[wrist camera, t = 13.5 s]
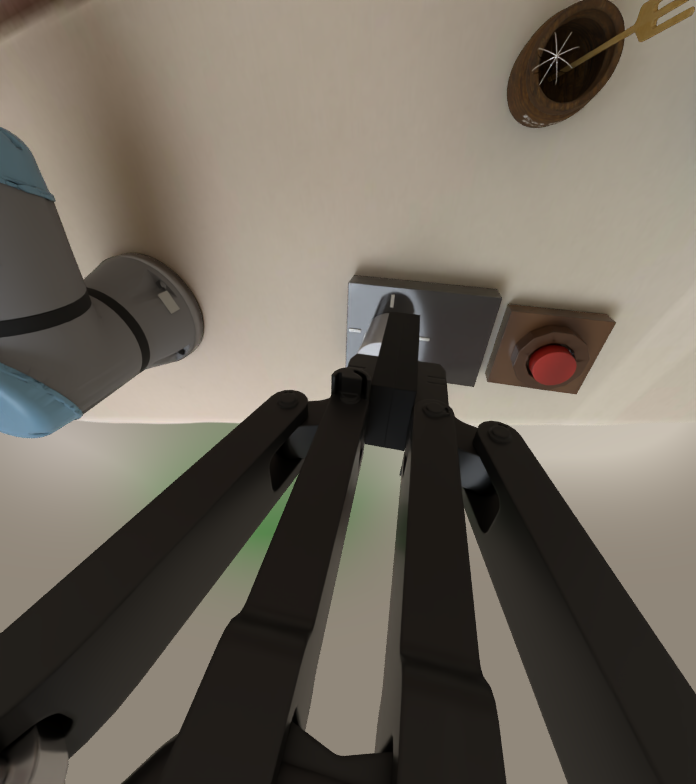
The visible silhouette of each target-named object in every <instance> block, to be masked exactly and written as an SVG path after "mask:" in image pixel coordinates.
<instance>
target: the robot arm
mask: <svg viewBox="0 0 696 784" xmlns="http://www.w3.org/2000/svg"><path fill="white" fill-rule="evenodd" d="M54 202H55V198H54V196H53V195H52V194H51V193H50V192H49V190H48V188H47V186H46V183H45V181H44V179H43V177H42V175H41V172H40V170H39V168H38V165H37V163H36V161H35V159H34V156H33V154H32V153H31V151H30V150H29V148H28V147H27V146H26V145H25V143H24V142H23V141H22V140H20V139H19V138H18V137H17V136H15V135H14V134H13V133H11V132H10V131H8V130H6V129H4V128H2V127H0V432H2V433H5V434H8V435H12V436H16V437H22V438H40V437H44V436H47V435H50V434H52V433H53V432H55V431H57V430H58V429H60V428H62V427H63V426H65V425H66V424H68V423H70V422H71V421H73V420H77V419H79V418H81V416H83V414H84V413H86V412H87V411H88V410H90V409H91V408H93V407H94V406H95V405H97V404H98V403H99V402H101V401H102V400H104V399H105V398H106V397H108V396H109V395H110V394H112V393H113V392H114V391H116V390H117V389H119V388H120V387H121V386H123V385H124V384H125V383H127V382H128V381H130V380H131V379H132V378H134V377H135V376H136V375H138V374H139V373H141V372H142V371H144V370H145V369H148V368H152V367H156V366H160V365H164V364H167V363H171V362H175V361H179V360H182V359H183V358H185V357H186V356H188V355H189V354H190V353H192V352H193V351H194V350H195V349H196V348H197V347H198V346H199V344H200V342H201V339H202V336H203V319H202V315H201V311H200V308H199V306H198V304H197V301H196V299H195V298H194V296H193V294H192V293H191V291H190V290H189V288H188V287H187V285H186V284H185V283H184V282H183V281H182V280H181V278H180V277H179V276H178V275H177V274H175V273H174V272H173V271H172V270H171V269H170V268H168V267H167V266H165V265H164V264H162V263H161V262H159V261H157V260H155V259H153V258H151V257H148V256H146V255H142V254H136V253H126V254H122V255H118V256H115V257H111V258H108V259H106V260H104V261H103V262H102V263H101V264H100V265H99V266H98V267H97V268H96V269H95V270H94V271H92V272H91V273H90V274H89V275H88V276H87V277H86V278H85V279H84V280H83V278H82V275H81V273H80V270H79V267H78V265H77V262H76V260H75V257H74V255H73V252H72V250H71V247H70V244H69V242H68V239H67V236H66V233H65V231H64V228H63V225H62V223H61V220H60V217H59V215H58V212H57V209H56V206H55V204H54ZM419 335H420V315H416V314H408V313H400V312H391V311H390V312H389V316H388V320H387V324H386V328H385V332H384V336H383V339H382V343H381V347H380V351H379V355H378V356H373V355H366V354H358V353H357V354H356V355H355V356H353V357H352V358H350V361H349V363H348V366H347V367H346V368H341V369H338V370H336V371H335V372H334V373H333V374H332V386H331V397H330V398H328V399H325V400H320V401H308V398H307V397H306V396H305V394H303V393H301V392H299V391H294V390H284V391H281V392H277V393H276V394H274V395H273V396H271V397H270V398H269V399H268V400H267V401H266V402H264V403H263V404H262V405H261V406H260V407H259V408H258V409H256V410H255V411H254V412H253V413H252V414H251V415H250V416H248V417H247V418H246V419H245V420H244V421H243V422H242V423H240V424H239V425H238V426H237V427H236V428H235V429H234V430H233V431H231V432H230V433H229V434H228V435H227V436H226V437H224V438H223V439H222V440H221V441H220V442H219V443H218V444H216V445H215V446H214V447H213V448H212V449H211V450H210V451H209V452H207V453H206V454H205V455H204V456H203V457H202V458H200V459H199V460H198V461H197V462H196V463H195V464H194V465H192V466H191V467H190V468H189V469H188V470H187V471H186V472H184V473H183V474H182V475H181V476H180V477H179V478H178V479H177V480H175V481H174V482H173V483H172V484H171V485H170V486H169V487H167V488H166V489H165V490H164V491H163V492H162V493H161V494H159V495H158V496H157V497H156V498H155V499H154V500H153V501H152V502H150V503H149V504H148V505H147V506H146V507H145V508H143V509H142V510H141V511H140V512H139V513H138V514H137V515H135V516H134V517H133V518H132V519H131V520H130V521H129V522H128V523H126V524H125V525H124V526H123V527H122V528H121V529H120V530H118V531H117V532H116V533H115V534H114V535H113V536H111V537H110V538H109V539H108V540H107V541H106V542H105V543H103V544H102V545H101V546H100V547H99V548H98V549H97V550H95V551H94V552H93V553H92V554H91V555H90V556H89V557H88V558H86V559H85V560H84V561H83V562H82V563H81V564H80V565H79V566H77V567H76V568H75V569H74V570H73V571H72V572H70V573H69V574H68V575H67V576H66V577H65V578H64V579H62V580H61V581H60V582H59V583H58V584H57V585H56V586H54V587H53V588H52V589H51V590H50V591H49V592H48V593H47V594H45V595H44V596H43V597H42V598H41V599H40V600H38V601H37V602H36V603H35V604H34V605H33V606H32V607H31V608H29V609H28V610H27V611H26V612H25V613H24V614H22V615H21V616H20V617H19V618H18V619H17V620H16V621H14V622H13V623H12V624H11V625H10V626H9V627H8V628H7V629H5V630H4V631H3V632H2V633H0V784H65V778H66V773H67V769H68V759H69V758H70V757H72V756H73V754H75V753H76V752H77V751H78V750H79V749H80V748H81V747H82V746H83V745H84V744H85V743H87V742H88V740H89V739H90V738H91V737H92V736H93V735H94V734H95V733H96V732H97V731H98V730H99V729H100V727H102V726H103V724H104V723H105V722H106V721H107V720H108V719H109V718H110V717H111V716H112V715H113V714H114V713H115V712H116V711H117V709H118V708H119V707H120V706H121V704H122V703H123V702H124V701H125V700H126V698H127V697H128V696H129V694H131V692H132V691H133V690H134V688H135V687H136V686H137V685H138V684H139V682H140V681H141V680H142V679H143V677H144V676H145V675H146V673H147V672H148V671H149V669H150V668H151V667H152V665H153V664H154V663H155V662H156V660H157V659H158V658H159V656H160V655H161V654H162V652H163V651H164V650H165V648H166V647H167V646H168V644H169V643H170V642H171V640H172V639H173V638H174V636H175V635H176V634H177V633H178V631H179V630H180V629H181V627H182V626H183V625H184V623H185V622H186V621H187V619H188V618H189V617H190V616H191V614H192V613H193V611H194V610H195V609H196V607H197V606H198V605H199V604H200V602H201V601H202V600H203V598H204V597H205V596H206V595H207V593H208V592H209V591H210V589H211V588H212V586H213V585H214V584H215V583H216V581H217V580H218V579H219V577H220V576H221V575H222V574H223V572H224V571H225V570H226V568H227V567H228V566H229V564H230V563H231V562H232V560H233V559H234V558H235V556H236V555H237V554H238V553H239V551H240V550H241V548H242V547H243V546H244V545H245V543H246V542H247V541H248V539H249V538H250V537H251V535H252V534H253V533H254V532H255V530H256V529H257V527H258V526H259V525H260V524H261V522H262V521H263V520H264V518H265V517H266V516H267V514H268V513H269V512H270V510H271V509H272V508H273V506H274V505H275V504H276V503H277V501H278V500H279V499H280V497H281V496H282V495H283V493H284V492H285V491H286V489H287V488H288V487H289V486H290V484H291V483H292V482H293V480H294V479H295V478H296V476H297V475H298V474H299V475H298V477H297V480H296V482H295V484H294V487H293V489H292V492H291V494H290V497H289V499H288V502H287V504H286V507H285V509H284V511H283V514H282V516H281V519H280V521H279V523H278V526H277V528H276V531H275V533H274V536H273V538H272V540H271V543H270V545H269V548H268V550H267V553H266V555H265V558H264V560H263V562H262V565H261V567H260V570H259V572H258V575H257V577H256V579H255V582H254V585H253V587H252V589H251V592H250V594H249V596H248V599H247V601H246V603H245V605H244V607H243V609H242V611H241V612H240V613H239V614H238V615H236V616H235V617H234V618H232V619H231V621H230V622H229V624H228V626H227V627H226V628H225V630H224V632H223V634H222V636H221V638H220V640H219V642H218V645H217V647H216V649H215V651H214V654H213V656H212V659H211V661H210V663H209V665H208V667H207V670H206V672H205V674H204V677H203V679H202V681H201V684H200V686H199V688H198V690H197V693H196V695H195V698H194V700H193V702H192V704H191V707H190V709H189V711H188V714H187V716H186V718H185V720H184V723H183V725H182V727H181V730H180V732H179V733H178V734H177V735H175V736H174V737H173V738H171V739H170V740H169V741H167V742H166V743H165V744H164V745H163V746H161V747H160V748H159V749H158V750H157V751H156V752H155V753H154V754H152V755H151V756H150V757H149V758H148V759H147V760H146V761H145V762H144V763H143V764H142V765H141V766H140V767H139V768H137V769H136V770H135V771H134V772H133V773H132V774H131V775H130V776H129V777H128V778H127V779H126V780H125V781H124V782H123V783H121V784H506V776H505V768H504V760H503V753H502V744H501V736H500V728H499V720H498V715H497V709H496V703H495V699H494V696H493V693H492V690H491V687H490V686H489V684H488V683H487V681H486V680H485V678H484V677H483V674H482V671H481V667H480V660H479V650H478V641H477V631H476V621H475V611H474V601H473V592H472V582H471V572H470V562H469V553H468V543H467V534H466V523H465V514H464V508H465V511H466V513H467V516H468V519H469V522H470V524H471V527H472V529H473V532H474V535H475V538H476V540H477V543H478V545H479V548H480V551H481V554H482V556H483V559H484V561H485V564H486V567H487V569H488V572H489V575H490V577H491V580H492V583H493V585H494V588H495V591H496V593H497V596H498V599H499V601H500V604H501V607H502V609H503V612H504V614H505V617H506V620H507V623H508V625H509V628H510V631H511V633H512V636H513V639H514V641H515V644H516V647H517V649H518V652H519V654H520V657H521V660H522V663H523V665H524V668H525V670H526V673H527V676H528V678H529V681H530V684H531V686H532V689H533V692H534V694H535V697H536V699H537V702H538V705H539V708H540V710H541V713H542V716H543V718H544V721H545V723H546V726H547V729H548V731H549V734H550V737H551V740H552V742H553V745H554V748H555V750H556V753H557V755H558V758H559V761H560V763H561V766H562V769H563V772H564V774H565V777H566V779H567V782H568V784H696V694H695V692H694V691H693V689H692V688H691V686H690V685H689V683H688V682H687V680H686V679H685V677H684V676H683V675H682V673H681V672H680V670H679V669H678V668H677V666H676V664H675V663H674V661H673V660H672V658H671V657H670V655H669V654H668V652H667V651H666V649H665V648H664V646H663V645H662V644H661V642H660V641H659V639H658V638H657V636H656V635H655V633H654V632H653V630H652V629H651V627H650V626H649V624H648V623H647V621H646V620H645V618H644V617H643V615H642V614H641V612H640V611H639V610H638V608H637V607H636V605H635V604H634V602H633V601H632V599H631V598H630V596H629V595H628V593H627V592H626V590H625V589H624V587H623V586H622V584H621V583H620V582H619V580H618V579H617V577H616V576H615V574H614V573H613V571H612V570H611V568H610V567H609V565H608V564H607V562H606V561H605V559H604V558H603V556H602V555H601V554H600V552H599V550H598V549H597V548H596V546H595V545H594V543H593V542H592V540H591V539H590V537H589V536H588V534H587V533H586V531H585V530H584V528H583V527H582V525H581V524H580V523H579V521H578V519H577V518H576V517H575V515H574V514H573V512H572V511H571V509H570V508H569V506H568V505H567V503H566V502H565V500H564V499H563V497H562V496H561V494H560V493H559V491H558V490H557V489H556V487H555V486H554V484H553V483H552V481H551V480H550V478H549V477H548V475H547V474H546V472H545V471H544V469H543V468H542V466H541V465H540V463H539V462H538V460H537V459H536V457H535V456H534V454H533V453H532V452H531V450H530V449H529V448H528V446H527V444H526V443H525V441H524V440H523V438H522V437H521V435H520V434H519V433H518V432H517V431H516V430H515V429H513V428H512V427H510V426H508V425H506V424H503V423H501V422H496V421H487V422H483V423H481V424H480V425H479V426H478V428H476V427H474V426H471V425H468V424H466V423H464V422H462V421H460V420H458V419H457V418H456V417H455V416H454V412H453V410H452V408H451V407H450V406H449V403H448V392H447V380H446V371H445V370H444V368H443V367H442V366H441V365H440V364H436V363H429V362H422V361H418V357H419ZM364 443H365V444H368V445H374V446H379V447H385V448H391V449H397V450H402V451H404V450H405V452H404V457H403V462H402V467H401V471H400V476H401V485H400V496H399V508H398V520H397V531H396V542H395V554H394V565H393V576H392V577H393V578H392V588H391V599H390V611H389V622H388V634H387V645H386V656H385V668H384V679H383V690H382V698H381V704H380V710H379V717H378V725H377V735H376V746H375V753H373V754H361V755H351V756H339V755H336V754H334V753H333V752H331V751H330V750H329V749H327V748H326V747H325V746H324V745H322V744H321V743H320V742H318V741H317V740H316V739H314V738H313V737H312V736H310V735H309V734H308V733H306V732H305V728H306V724H307V719H308V714H309V709H310V704H311V699H312V693H313V686H314V680H315V674H316V669H317V664H318V659H319V655H320V650H321V646H322V641H323V636H324V632H325V627H326V622H327V618H328V614H329V609H330V604H331V600H332V595H333V590H334V586H335V581H336V577H337V572H338V568H339V562H340V558H341V554H342V549H343V545H344V540H345V535H346V531H347V526H348V522H349V517H350V512H351V508H352V503H353V499H354V494H355V489H356V485H357V480H358V476H359V471H360V466H361V462H362V457H363V450H364Z"/></svg>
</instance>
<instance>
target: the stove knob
mask: <svg viewBox="0 0 696 784" xmlns="http://www.w3.org/2000/svg"><path fill="white" fill-rule="evenodd" d="M388 316H389V313H385V314H381V315H378V316H376V317H375V318H374V319H372V320H371V322H370V323H369V325H368V327H367V330H366V332H365V334H364V337H363V339H362V342H361V344H360V346H359V349H358V351H357V353H358V354H366V355H373V356H378V355H379V351H380V347H381V343H382V339H383V336H384V332H385V328H386V324H387V320H388Z"/></svg>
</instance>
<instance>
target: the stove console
mask: <svg viewBox="0 0 696 784" xmlns="http://www.w3.org/2000/svg"><path fill="white" fill-rule="evenodd" d="M501 300H502V297H501V295H500V293H499V291H498V289H491V288H481V287H470V286H460V285H450V284H440V283H429V282H419V281H409V280H399V279H388V278H378V277H368V276H358V275H354V276H353V277H352V279H351V280H350V281H349V283H348V313H347V342H346V367H347V366H348V363H349V361H350V358H352V357H353V356H355V355H356V354H357V351H358V349H359V346H360V344H361V342H362V339H363V337H364V334H365V332H366V330H367V327H368V325H369V323H370V322H371V320H372V319H374V318H375V317H376V316H378V315H381V314H385V313H389V312H390V311H391V312H400V313H408V314H416V315H420V335H419V357H418V361H422V362H429V363H436V364H440V365H441V366H442V367H443V368H444V370H445V371H446V380H447V383H450V384H457V385H464V386H471V387H474V385H475V382H476V379H477V376H478V373H479V369H480V366H481V363H482V360H483V357H484V354H485V351H486V347H487V344H488V341H489V338H490V335H491V332H492V328H493V325H494V322H495V319H496V316H497V313H498V310H499V306H500V303H501Z"/></svg>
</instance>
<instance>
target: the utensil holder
mask: <svg viewBox="0 0 696 784" xmlns="http://www.w3.org/2000/svg"><path fill="white" fill-rule="evenodd" d="M661 1H662V0H649V1H648V2H646V3H645V4H643V6H642V7H641V9H640V12H639V15H638V18H637V21H636V23H635V24H634V25H633V26H632V27H630V28H628V29H627V30H625V27H624V21H623V18H622V15H621V13H620V11H619V9H618V8H617V7H616V6H615V5H614V4H613V3H611V2H610V1H608V0H583V1H580V2H577V3H575V4H573V5H571V6H569V7H568V8H566V9H563V10H562V11H560V12H558V13H556V14H555V15H554V16H552V17H551V18H550V19H548V20H547V21H546V22H545V23H544V24H543V25H542V26H541V27H540V28H539V29H538V30H537V31H536V33H535V34H534V35H533V36H532V37H531V39H530V40H529V41H528V43H527V44H526V45H525V47H524V48H523V50H522V51H521V53H520V54H519V56H518V58H517V60H516V62H515V64H514V66H513V68H512V71H511V74H510V77H509V81H508V87H507V101H508V106H509V109H510V112H511V114H512V115H513V117H514V118H515V119H516V120H517V121H518V122H519V123H520V124H522V125H524V126H527V127H531V128H540V127H546V126H549V125H552V124H555V123H558V122H561V121H563V120H565V119H567V118H569V117H571V116H572V115H574V114H575V113H577V112H578V111H579V110H581V109H582V108H583V107H584V106H585V105H586V104H587V103H588V102H589V101H590V100H591V99H592V98H593V97H594V96H595V95H596V94H597V93H598V92H599V91H600V90H601V89H602V88H603V86H604V85H605V84H606V83H607V81H608V80H609V78H610V77H611V75H612V74H613V72H614V70H615V68H616V66H617V64H618V62H619V59H620V57H621V54H622V50H623V46H624V39H625V38H626V37H627V36H629V35H631V34H633V33H634V32H635V33H636V36H637V38H638V41H639V42H643V41H645V40H647V39H649V38H651V37H653V36H654V35H656V34H658V33H660V32H662V31H664V30H665V29H667V28H669V27H671V26H673V25H675V24H676V23H678V22H680V21H682V20H684V19H686V18H687V17H689V16H691V15H692V14H693V13H694V10H695V8H694V7H691V8H689V9H687V10H685V11H683V12H682V13H680V14H678V15H676V16H674V17H673V18H671V19H669V20H667V21H665V22H664V23H662V24H660V25H658V26H657V25H656V23H657V20H658V18H660V17H662V16H663V15H665V14H667V13H668V12H670V11H672V10H673V9H675V8H677V7H678V6H680V5H682V4H684V3H685V2H687V1H689V0H674V1H673V2H671V3H669V4H668V5H666V6H664V7H663V8H661V9H659V10H658V5H659V3H660V2H661Z"/></svg>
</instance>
